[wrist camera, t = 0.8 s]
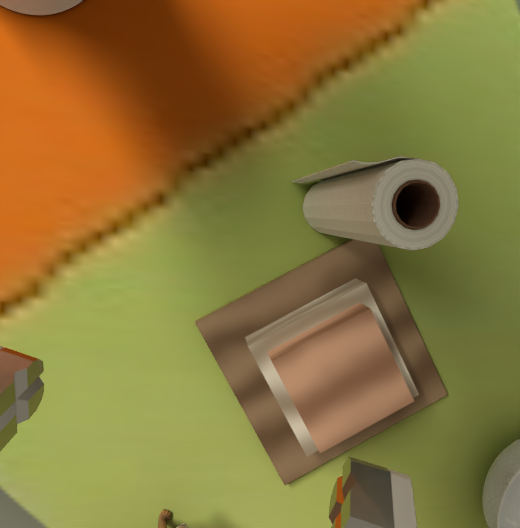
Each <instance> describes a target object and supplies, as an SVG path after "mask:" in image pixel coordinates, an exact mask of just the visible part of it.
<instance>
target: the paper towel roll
mask: <svg viewBox="0 0 520 528" xmlns="http://www.w3.org/2000/svg"><path fill="white" fill-rule="evenodd" d="M315 180H323V181H320V182H318V183H317V184H315V185H314V186H312V187H311V188H310V190H309V191H308V192H307V194H306V195H305V198H304V203H303V212H304V217H305V219H306V221H307V222H308V224H309V226H310V227H312V228H313V229H315V230H316V231H317V232H319V233H324V234H328V235H334V236H339V237H344V238H349V239H354V240H360V241H365V242H370V243H375V244H380V245H386V246H391V247H396V248H401V249H406V250H411V251H413V250H418V249H423V248H429V247H431V246H432V245H434V244H435V243H437V242H438V241H440V240H441V239H443V238H444V237H445V235H446V234H447V233H448V231H449V230H450V228H451V227H452V226H453V224H454V222H455V218H456V214H457V210H458V207H459V204H458V195H457V188H456V186H455V184H454V182H453V180H452V179H451V177H450V175H449V173H448V172H447V171H445V170H444V169H443V168H442V167H440V166H439V165H438V164H437V163H435V162H431V161H427V160H422V159H418V158H410V157H402V156H399V157H395V158H391V159H388V160H384V161H380V162H366V163H363V162H359V161H356V160H352V161H349V162H346V163H343V164H340V165H337V166H334V167H331V168H328V169H325V170H322V171H319V172H316V173H313V174H310V175H308V176H305V177H302V178H299V179H296V180H293V181H291V182H294V183H307V182H311V181H315Z"/></svg>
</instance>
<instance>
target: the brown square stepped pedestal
mask: <svg viewBox="0 0 520 528" xmlns="http://www.w3.org/2000/svg"><path fill="white" fill-rule="evenodd" d="M196 325H197V327H198V328H199V330H200V332H201V334H202V336H203V338H204V339H205V341H206V343H207V345H208V347H209V348H210V350H211V352H212V354H213V356H214V357H215V359H216V361H217V363H218V365H219V367H220V368H221V370H222V372H223V374H224V376H225V377H226V379H227V381H228V383H229V385H230V387H231V388H232V390H233V392H234V394H235V396H236V397H237V399H238V401H239V403H240V405H241V407H242V408H243V410H244V412H245V414H246V416H247V417H248V419H249V421H250V423H251V425H252V426H253V428H254V430H255V432H256V434H257V436H258V437H259V439H260V441H261V443H262V445H263V446H264V448H265V450H266V452H267V454H268V456H269V457H270V459H271V461H272V463H273V465H274V466H275V468H276V470H277V472H278V474H279V476H280V477H281V479H282V481H283V483H284V485H286V484H288V483H290V482H292V481H293V480H295V479H297V478H299V477H301V476H302V475H304V474H306V473H308V472H310V471H311V470H313V469H315V468H317V467H319V466H320V465H322V464H324V463H326V462H328V461H329V460H331V459H333V458H335V457H337V456H338V455H340V454H342V453H344V452H346V451H347V450H349V449H351V448H353V447H355V446H356V445H358V444H360V443H362V442H364V441H365V440H367V439H369V438H371V437H373V436H374V435H376V434H378V433H380V432H382V431H383V430H385V429H387V428H389V427H391V426H392V425H394V424H396V423H398V422H400V421H401V420H403V419H405V418H407V417H409V416H410V415H412V414H414V413H416V412H418V411H419V410H421V409H423V408H425V407H427V406H428V405H430V404H432V403H434V402H436V401H437V400H439V399H441V398H443V397H445V396H446V395H448V394H447V392H446V390H445V388H444V386H443V384H442V381H441V379H440V377H439V375H438V373H437V370H436V368H435V366H434V364H433V362H432V360H431V357H430V355H429V353H428V351H427V349H426V347H425V344H424V342H423V340H422V338H421V336H420V334H419V331H418V329H417V327H416V325H415V323H414V321H413V318H412V316H411V314H410V312H409V310H408V308H407V305H406V303H405V301H404V299H403V297H402V295H401V292H400V290H399V288H398V286H397V284H396V282H395V279H394V277H393V275H392V273H391V271H390V269H389V266H388V264H387V262H386V260H385V258H384V256H383V253H382V251H381V249H380V247H379V245H378V244H375V243H370V242H365V241H360V240H354V239H350V240H349V241H347V242H345V243H343V244H341V245H339V246H337V247H335V248H333V249H331V250H330V251H328V252H326V253H324V254H322V255H320V256H318V257H316V258H314V259H312V260H311V261H309V262H307V263H305V264H303V265H301V266H299V267H297V268H295V269H293V270H292V271H290V272H288V273H286V274H284V275H282V276H280V277H278V278H276V279H274V280H273V281H271V282H269V283H267V284H265V285H263V286H261V287H259V288H257V289H255V290H254V291H252V292H250V293H248V294H246V295H244V296H242V297H240V298H238V299H236V300H235V301H233V302H231V303H229V304H227V305H225V306H223V307H221V308H219V309H217V310H216V311H214V312H212V313H210V314H208V315H206V316H204V317H202V318H200V319H198V320H197V321H196Z"/></svg>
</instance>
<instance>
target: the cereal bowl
mask: <svg viewBox="0 0 520 528" xmlns="http://www.w3.org/2000/svg"><path fill="white" fill-rule="evenodd" d="M482 500H483V502H482V504H483V512H484V517H485V520H486V523H487V525H488V528H520V438H519V439H518V440H516V441H514V442H513V443H512V444H510V445H509V446H507V447H506V448H505V449H504V450H503V451H502V452H501V453H500V454H499V455H498V456H497V457H496V459H495V461H494V462H493V464H492V465H491V467H490V469H489V471H488V474H487V476H486V479H485V483H484V488H483V496H482Z"/></svg>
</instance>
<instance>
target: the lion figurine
mask: <svg viewBox="0 0 520 528" xmlns="http://www.w3.org/2000/svg"><path fill="white" fill-rule="evenodd" d="M170 517H171V512H170V511H168V510H165V509H164V510H163V511H162V512H161V514H160V516H159V521H158V528H167V526H166V525H167V521H168V520H169V519H170ZM176 528H188V526H187V525H186V524H185V523H182V524H180V526H178V527H176Z"/></svg>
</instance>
